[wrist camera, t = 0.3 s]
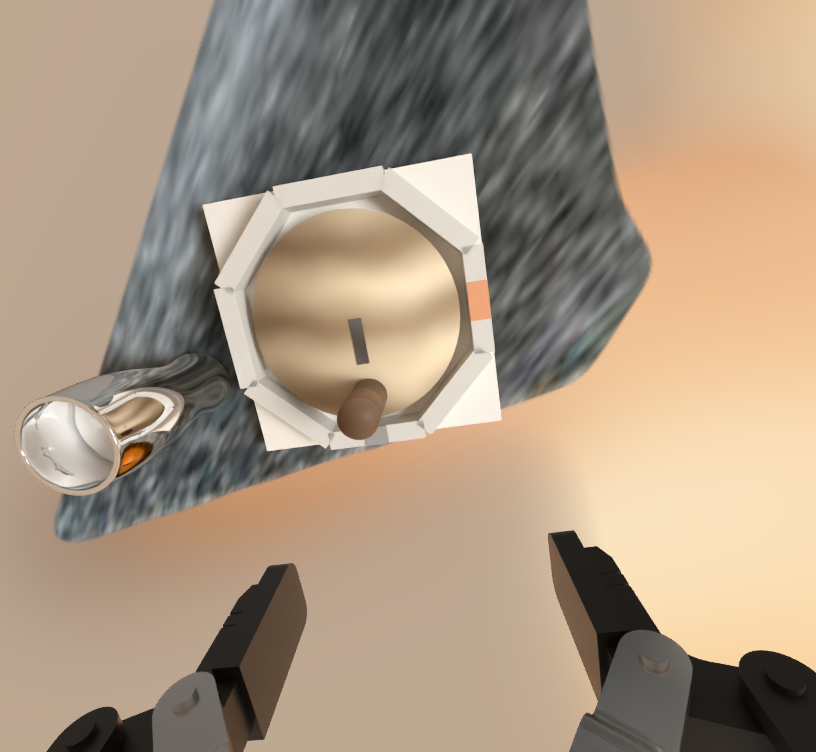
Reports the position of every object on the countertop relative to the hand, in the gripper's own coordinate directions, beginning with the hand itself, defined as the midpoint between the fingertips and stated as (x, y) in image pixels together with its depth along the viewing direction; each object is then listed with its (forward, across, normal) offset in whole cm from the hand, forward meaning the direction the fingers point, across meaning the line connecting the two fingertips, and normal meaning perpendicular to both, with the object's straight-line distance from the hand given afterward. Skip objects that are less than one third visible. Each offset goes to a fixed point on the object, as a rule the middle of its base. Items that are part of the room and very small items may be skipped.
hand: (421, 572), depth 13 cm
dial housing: (+26, +5, -6) cm, 27 cm away
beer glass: (+26, +22, -3) cm, 34 cm away
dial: (+24, +5, -6) cm, 25 cm away
